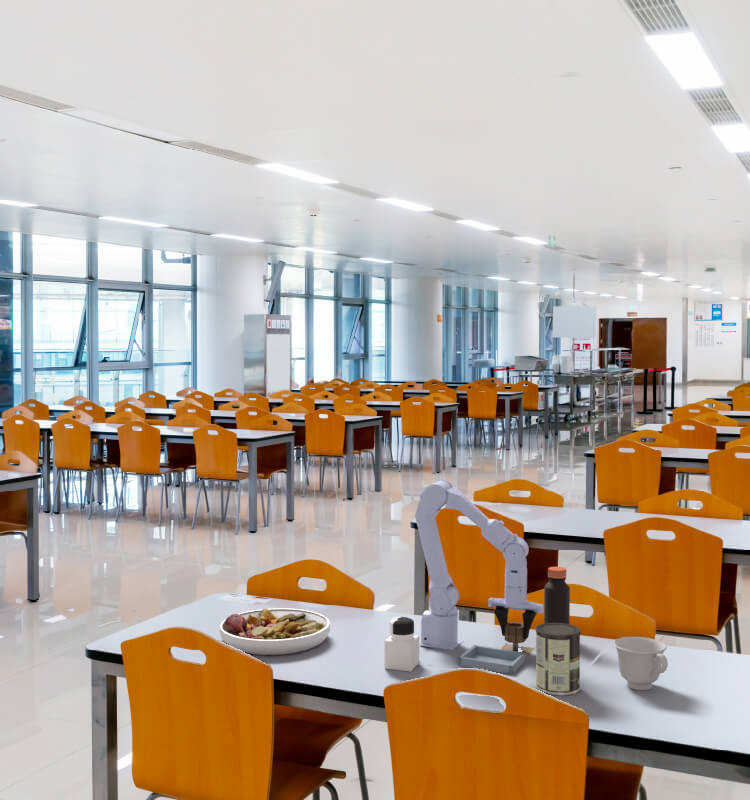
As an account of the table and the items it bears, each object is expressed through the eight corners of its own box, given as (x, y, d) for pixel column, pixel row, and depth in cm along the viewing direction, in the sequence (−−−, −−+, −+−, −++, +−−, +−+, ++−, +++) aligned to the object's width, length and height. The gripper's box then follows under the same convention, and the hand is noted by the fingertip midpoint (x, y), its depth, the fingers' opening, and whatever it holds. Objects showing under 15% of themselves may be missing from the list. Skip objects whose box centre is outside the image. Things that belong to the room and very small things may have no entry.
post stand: (495, 654, 238) (495, 633, 238) (505, 645, 245) (506, 625, 245) (525, 659, 234) (525, 637, 234) (534, 650, 241) (535, 629, 241)
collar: (502, 641, 238) (502, 626, 238) (509, 635, 243) (509, 621, 243) (521, 644, 236) (521, 629, 236) (527, 638, 241) (528, 623, 240)
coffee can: (566, 678, 220) (566, 620, 220) (588, 693, 211) (588, 633, 210) (527, 682, 217) (528, 624, 217) (547, 698, 208) (548, 637, 207)
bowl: (314, 621, 269) (314, 594, 269) (343, 652, 241) (343, 623, 240) (212, 630, 260) (212, 603, 259) (229, 664, 231) (229, 634, 231)
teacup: (644, 703, 204) (644, 659, 204) (602, 681, 218) (602, 640, 218) (686, 694, 209) (686, 651, 209) (642, 674, 223) (643, 633, 222)
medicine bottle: (419, 663, 231) (419, 616, 231) (411, 672, 225) (411, 624, 224) (392, 660, 234) (392, 613, 233) (384, 669, 227) (384, 621, 226)
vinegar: (574, 643, 247) (574, 570, 246) (552, 646, 244) (553, 572, 243) (560, 636, 253) (560, 564, 252) (539, 639, 251) (539, 567, 250)
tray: (458, 667, 228) (458, 657, 228) (474, 654, 238) (474, 644, 238) (511, 676, 222) (512, 666, 222) (526, 662, 231) (526, 652, 231)
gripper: (547, 585, 239) (546, 636, 240) (494, 578, 246) (494, 628, 246) (539, 591, 233) (538, 643, 233) (485, 584, 239) (485, 635, 240)
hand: (515, 636), depth 239 cm, fingers closed on collar, 5 cm apart
